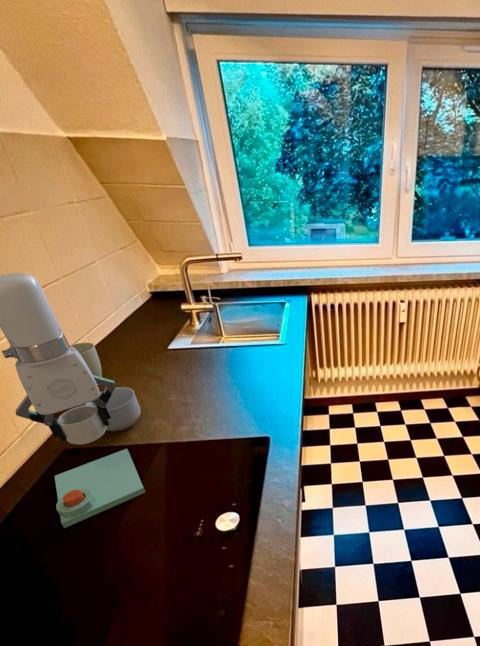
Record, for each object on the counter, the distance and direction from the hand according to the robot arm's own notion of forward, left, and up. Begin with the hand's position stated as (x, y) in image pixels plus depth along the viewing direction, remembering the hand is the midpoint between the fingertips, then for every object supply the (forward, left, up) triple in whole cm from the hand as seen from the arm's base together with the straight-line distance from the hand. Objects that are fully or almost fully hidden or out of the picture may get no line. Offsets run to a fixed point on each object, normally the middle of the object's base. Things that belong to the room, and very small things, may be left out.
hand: (85, 429), depth 77 cm
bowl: (0, 0, -2) cm, 2 cm away
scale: (-2, -3, -12) cm, 13 cm away
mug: (+3, +46, -12) cm, 48 cm away
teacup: (+5, +20, -12) cm, 24 cm away
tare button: (-6, -8, -10) cm, 14 cm away
